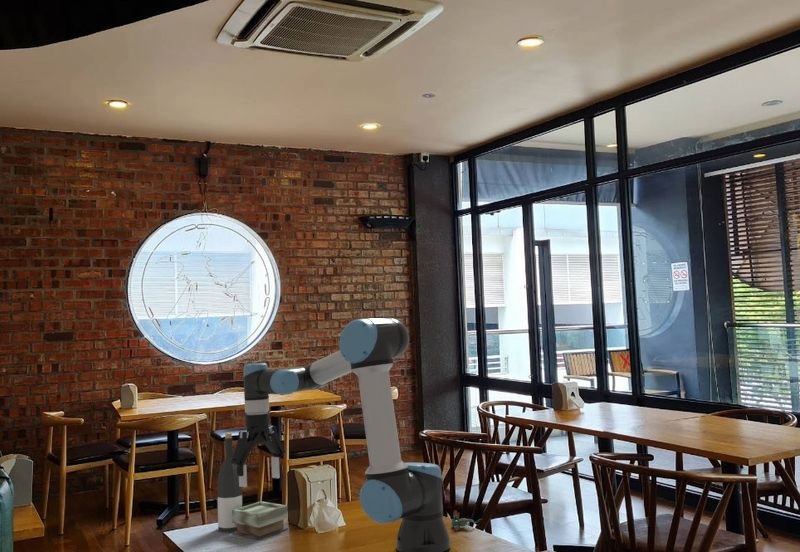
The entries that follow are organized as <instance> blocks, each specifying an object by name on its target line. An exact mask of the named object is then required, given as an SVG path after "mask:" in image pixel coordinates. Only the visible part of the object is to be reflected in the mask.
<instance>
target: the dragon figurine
mask: <svg viewBox="0 0 800 552" xmlns="http://www.w3.org/2000/svg"><path fill="white" fill-rule="evenodd" d="M452 513H453V514H452V517H453V518H452V519H451V524H450V525H451V526H452V527H453V528H454V530H455V532H457V531H459V530H461V527H465V526H468V525H469V526H470V525H471V524H470V523H473V524H476V523H478V522H480V520H483V518H479V519H478V520H477V521H474V519H471V518H465V517H463V518H460V511H459V512H458V510H455V509H454V510H453V512H452ZM456 519H457V520H456Z"/></svg>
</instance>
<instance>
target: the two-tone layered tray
mask: <svg viewBox="0 0 800 552" xmlns="http://www.w3.org/2000/svg"><path fill="white" fill-rule="evenodd" d="M288 506H289V505H286V504H280V503H275V502H269V501H268V502H267V501H257V502H254V503H250V504H247V505H244V506H243V505H242V507H240V508H237V509H233V510H232V523H237V531H235V532H231V533H232V535H234V534H236V536H239V537H244V538H247V539H253V540H258V541H259V540H263V539H266V538H269V537H273V536H275V535H277V534H280V533H282V532H286V531H288V530H289V527H285V525H284V520H287V519H288V518H289V510H288V509H289V508H288Z"/></svg>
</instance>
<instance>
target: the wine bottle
mask: <svg viewBox="0 0 800 552" xmlns="http://www.w3.org/2000/svg"><path fill="white" fill-rule="evenodd" d="M224 436H225V437H224V454H225V455H224V456H225V457H224V459H223V462H222V464H221V466H220V469H219V472H218V475H217V481H216V485H217V487H216V488H217V490H216V491H217V493H216V494H217V495H216V496H217V529H218V532H220V533H224V532H225V533H226V532H229V533H232V532H235V531H237V523H232V510H233V509H237V508H240V507H243V487H239V476H238V475H237V465H235V464H232V463H231V460H232V457H233V454H234V451H233V435H232V432H227V433H226V432H225V434H224Z"/></svg>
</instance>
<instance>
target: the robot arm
mask: <svg viewBox="0 0 800 552" xmlns="http://www.w3.org/2000/svg"><path fill="white" fill-rule="evenodd" d="M338 343H339V345H338V347H339V350H338V351H335V352H333V353H331V354H328V355H326V356H325V357H322V358H320V359H318V360H316V361H314V362H312V363H309V364H308V365H306V366H301V367H299V366H298V367H291V368H282V369H281V368H280V369H279V368H278V369H269V368H268V367H269V366H268V364H267V363H266V362H261V363H260V362H258V363H257V362H256V363H247V364H245V365H244V366H243V377H242V379H243V394H244V395H243V396H244V397H243V398H244V412H245V413H246V414H245V415H244V423H245V427H246V431H238V439H237V442H236V444H235V448H234V450H233V457H232V460H231V463H232V464H235V465H237V475H238V476H239V487H242V488H247V487H248V477H247V475H248V473H247V464H245V463H246V461H247V459H248V457H249V456H250V453H251V451H252V450H253V447H255V446H256V445H259V444H263V445H264V446H265V447H266V448H267V449H268V450H269V452H270V454H271V455H272V456H271V457H270V458H271V461H270V463H271V478H272V479H280V478H281V477H280V473H281V472H280V467H281V457H283V455H284V454H285V453H286V450H285V448H284V446H283V444H282V441H281V438H280V436H279V434H278V430H277V426H276V425H270V423H271V420H270V419H271V418H270V413H269V411H270V395H280V396H284V395H285V396H286V395H287V396H288V395H291V394H294V393H298V392H305V391H315V390H319V389H321V388H323V387H324V386H325V385H326V384H327V383H329V382H332V381H334V380H336V379H338V378H340V377H344V376H346V375H348V374H351V373H354V374H355V375H356V376H357V380H358V381H357V382H358V387H359V394H360V401H361V402H360V403H361V409H362V410H361V411H362V417H363V425H364V432H365V439H366V446H367V447H366V448H367V453H368V460H369V462H368V463H369V466H368V467H367V469H366V470H365V471H364V472H365V480H366V481H365V482H364V484H363V485H362V486H361V489H359V490H360V491H359V502H360V503H359V504H360V506H361V509H362V510H363V512H364V513H365V515H366V516H367V517H368V518H370V520H371V521H373V522H375V523H377V524H381V525H384V524H388V523H395V522H397V521H398V520H401V521H400V525H399V528H398V532H397V537H396V540H395V541H396V549H397V550H398V551H399V552H445V551H447V550H449V549H450V548H451V547H452V546H451V537H450V535H449V532H448V529H447V526H446V523H445V520H444V509H443V508H444V506H443V484H442V483H443V482H442V480H443V477H442V470H441V468H440V466H439V465H438V464H436V463H431V462H430V463H429V462H428V463H427V462H405V461H403V460H402V454H401V447H400V441H399V432H398V427H397V420H396V412H395V405H394V399H393V392H392V384H391V379H390V378H391V377H390V370H391V369H392V367H393V366H394V359H396V358H398V357H400V356H402V355H403V354H404V353H405V351H407V350H408V349H407V348H408V346H409V343H410V334H409V331H408V328H407V327H406V325H405V324H404V323H403V322H401V321H400V320H398V319H396V318H392V317H381V318H380V317H379V318H377V317H376V318H374V317H371V318H370V317H366V318H359V319H354V320H352V321H350V322H348V323H347V324H346V325H345V327H344V329H343V330H342V331H341V333H340V336H339V342H338Z"/></svg>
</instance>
